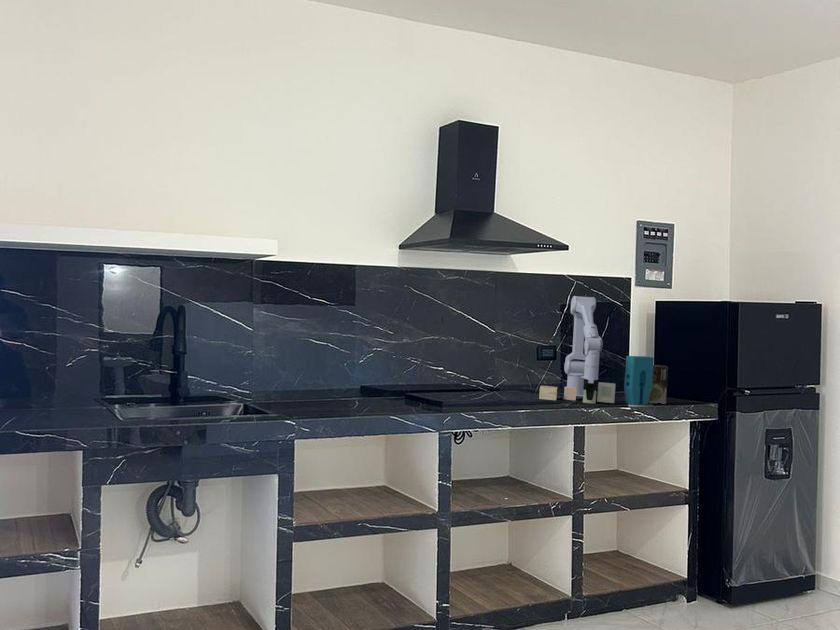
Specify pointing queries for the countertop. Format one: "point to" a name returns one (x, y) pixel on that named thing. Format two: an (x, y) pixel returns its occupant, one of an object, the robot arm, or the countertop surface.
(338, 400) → the countertop surface
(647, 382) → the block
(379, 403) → the countertop surface
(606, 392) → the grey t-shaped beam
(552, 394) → the base block
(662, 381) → the coffee box
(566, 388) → the pink cube
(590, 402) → the sage cube
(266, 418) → the countertop surface
